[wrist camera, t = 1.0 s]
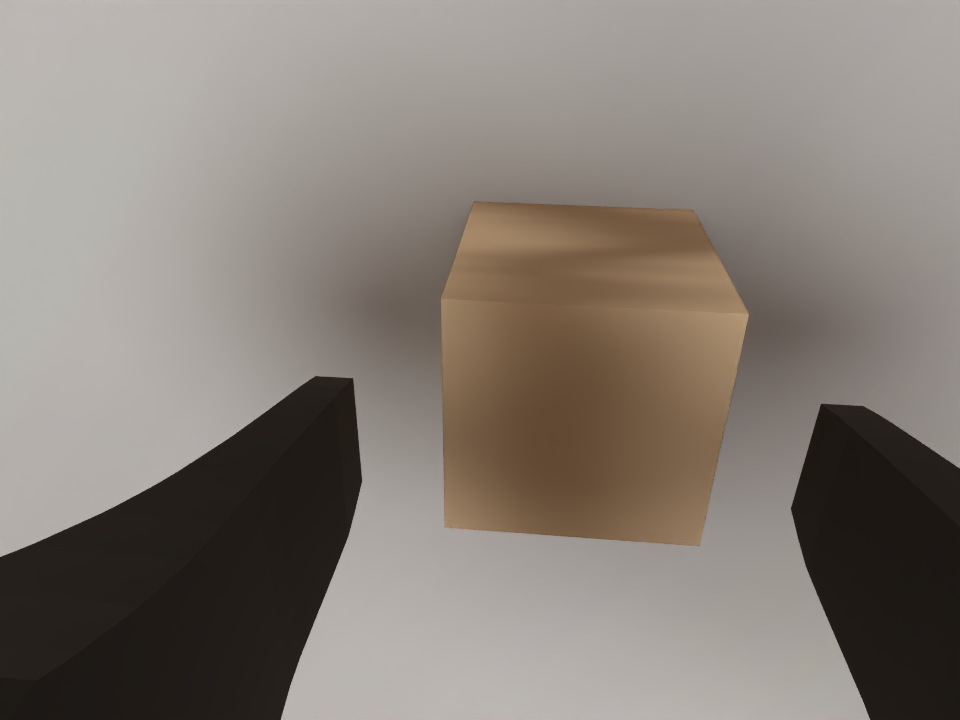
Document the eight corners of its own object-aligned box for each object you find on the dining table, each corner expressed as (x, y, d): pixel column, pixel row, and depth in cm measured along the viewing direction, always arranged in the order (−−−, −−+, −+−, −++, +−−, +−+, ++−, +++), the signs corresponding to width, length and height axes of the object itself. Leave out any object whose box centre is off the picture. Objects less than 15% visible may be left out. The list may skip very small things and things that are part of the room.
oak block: (693, 209, 15) (749, 314, 10) (662, 395, 17) (699, 546, 13) (474, 200, 15) (441, 299, 11) (472, 384, 17) (444, 527, 13)
